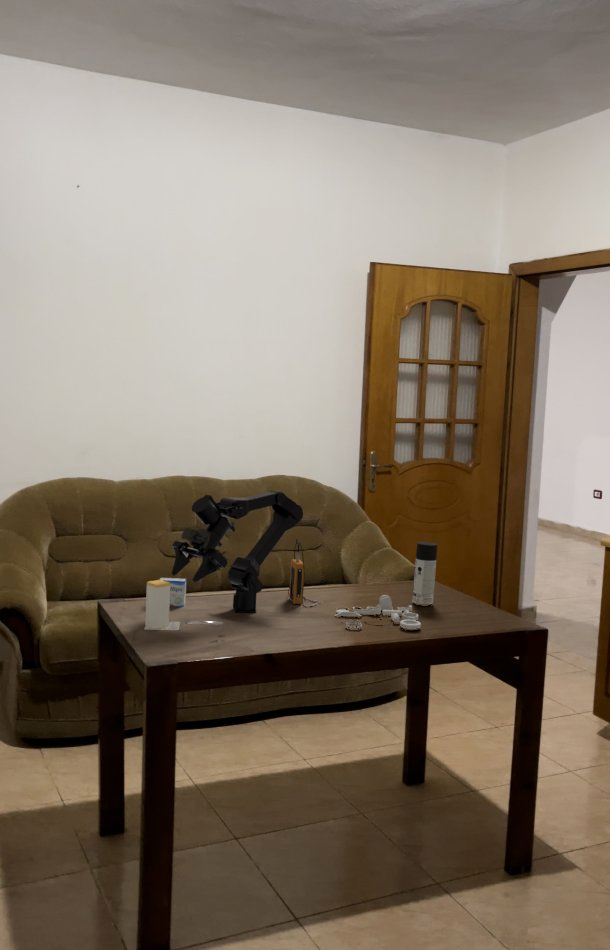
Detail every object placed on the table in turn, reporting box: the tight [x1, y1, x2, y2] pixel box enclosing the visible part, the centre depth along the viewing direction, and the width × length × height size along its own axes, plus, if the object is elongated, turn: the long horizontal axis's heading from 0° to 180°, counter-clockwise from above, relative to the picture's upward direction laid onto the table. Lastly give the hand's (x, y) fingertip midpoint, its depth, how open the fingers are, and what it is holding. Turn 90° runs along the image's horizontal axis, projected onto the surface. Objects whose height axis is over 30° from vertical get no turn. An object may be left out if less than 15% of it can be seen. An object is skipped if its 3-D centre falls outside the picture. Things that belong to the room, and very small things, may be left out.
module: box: [144, 579, 170, 629], centre depth 240 cm, size 4×4×12 cm
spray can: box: [411, 541, 438, 605], centre depth 284 cm, size 7×7×20 cm
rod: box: [186, 620, 224, 626], centre depth 245 cm, size 10×2×2 cm, turn 96°
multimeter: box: [287, 538, 324, 608], centre depth 278 cm, size 15×10×20 cm
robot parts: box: [334, 594, 422, 629], centre depth 263 cm, size 25×25×5 cm
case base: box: [144, 620, 181, 631], centre depth 241 cm, size 11×10×1 cm
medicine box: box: [159, 577, 187, 607], centre depth 263 cm, size 8×4×9 cm, turn 93°
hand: (182, 578), depth 246 cm, fingers open, 9 cm apart
